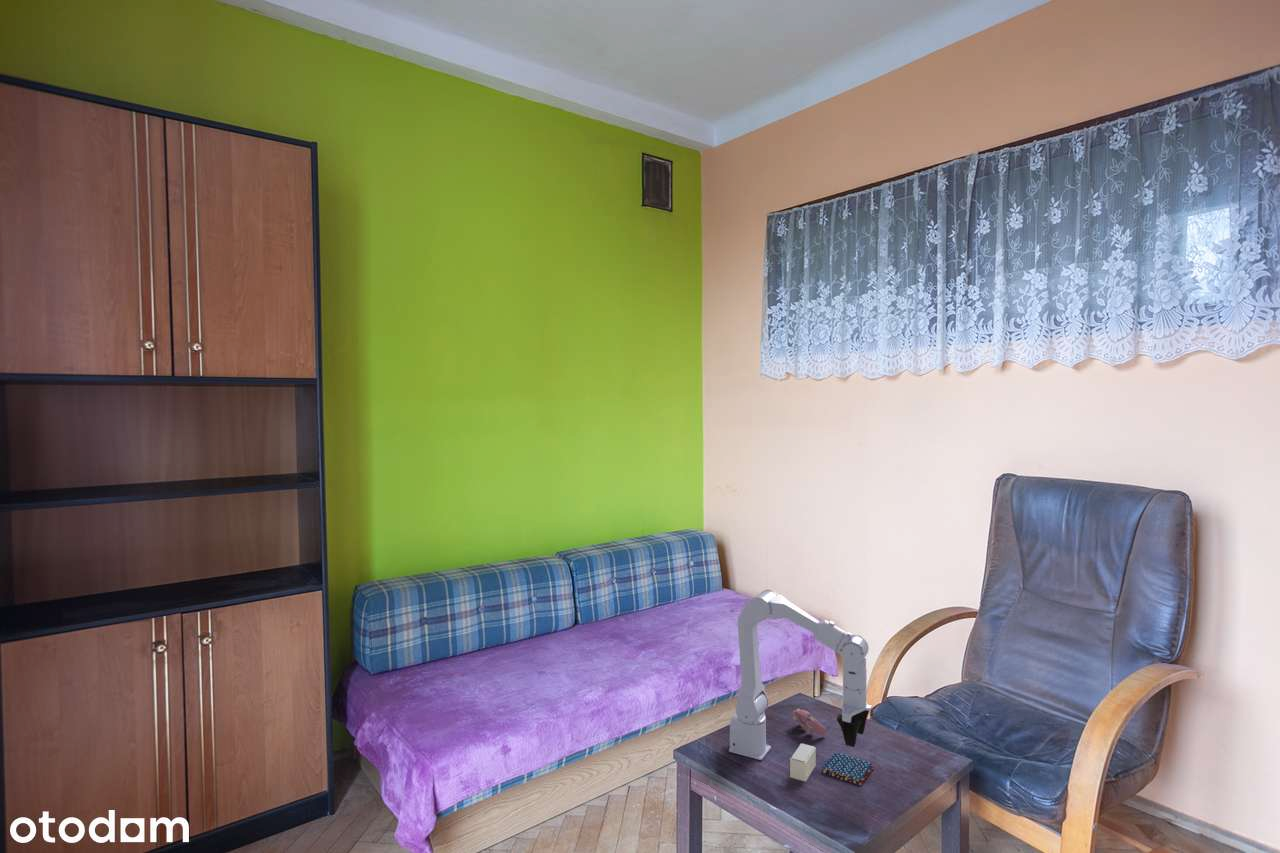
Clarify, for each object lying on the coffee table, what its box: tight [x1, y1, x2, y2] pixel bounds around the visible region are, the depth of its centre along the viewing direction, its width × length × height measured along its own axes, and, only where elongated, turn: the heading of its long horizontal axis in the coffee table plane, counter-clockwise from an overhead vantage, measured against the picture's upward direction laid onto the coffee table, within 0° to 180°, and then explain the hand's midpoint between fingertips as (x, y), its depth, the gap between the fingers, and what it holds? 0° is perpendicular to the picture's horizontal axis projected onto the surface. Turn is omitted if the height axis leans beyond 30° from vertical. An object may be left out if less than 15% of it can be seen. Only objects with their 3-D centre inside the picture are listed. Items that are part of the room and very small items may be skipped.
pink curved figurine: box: [791, 707, 828, 736], centre depth 193 cm, size 10×5×7 cm, turn 25°
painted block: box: [789, 743, 817, 782], centre depth 172 cm, size 4×9×5 cm, turn 149°
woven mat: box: [821, 752, 874, 786], centre depth 172 cm, size 10×11×2 cm
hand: (854, 739), depth 168 cm, fingers open, 7 cm apart
